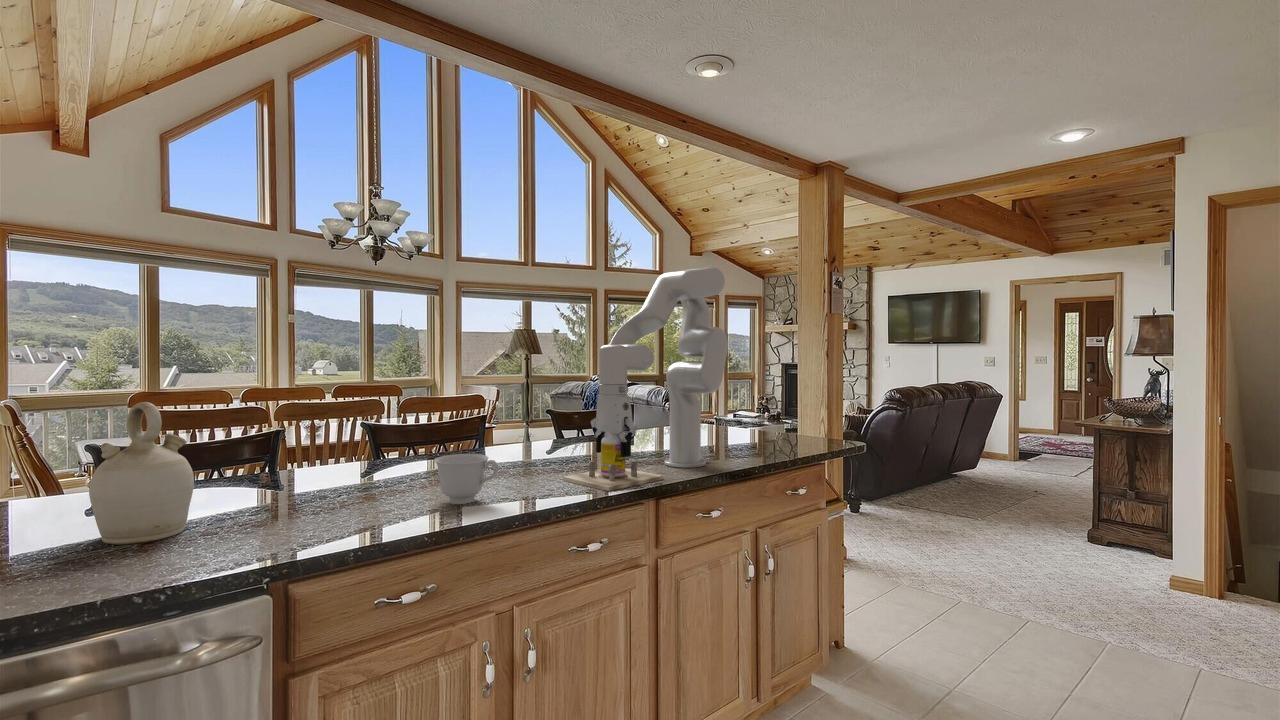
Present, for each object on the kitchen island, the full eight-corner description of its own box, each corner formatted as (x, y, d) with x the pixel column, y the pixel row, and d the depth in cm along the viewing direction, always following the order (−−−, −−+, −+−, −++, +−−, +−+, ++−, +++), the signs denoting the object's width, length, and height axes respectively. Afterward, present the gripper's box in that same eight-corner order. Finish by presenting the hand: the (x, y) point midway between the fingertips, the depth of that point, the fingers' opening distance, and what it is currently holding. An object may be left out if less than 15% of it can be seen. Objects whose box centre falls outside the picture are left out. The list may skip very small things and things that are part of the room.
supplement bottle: (615, 478, 162) (615, 429, 162) (595, 475, 166) (596, 427, 166) (630, 475, 167) (630, 427, 167) (611, 472, 171) (611, 425, 171)
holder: (617, 470, 180) (617, 453, 179) (662, 479, 167) (662, 460, 167) (562, 480, 165) (562, 461, 165) (608, 491, 153) (608, 471, 153)
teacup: (486, 510, 134) (486, 464, 134) (423, 506, 137) (423, 461, 137) (508, 497, 146) (508, 455, 146) (450, 494, 149) (450, 452, 149)
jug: (181, 519, 127) (180, 397, 126) (205, 533, 117) (204, 401, 117) (81, 536, 115) (80, 402, 115) (99, 553, 105) (98, 407, 105)
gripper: (646, 391, 162) (646, 456, 163) (602, 388, 175) (602, 449, 175) (625, 393, 157) (625, 460, 157) (581, 390, 169) (581, 452, 169)
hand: (613, 454), depth 166 cm, fingers open, 9 cm apart
